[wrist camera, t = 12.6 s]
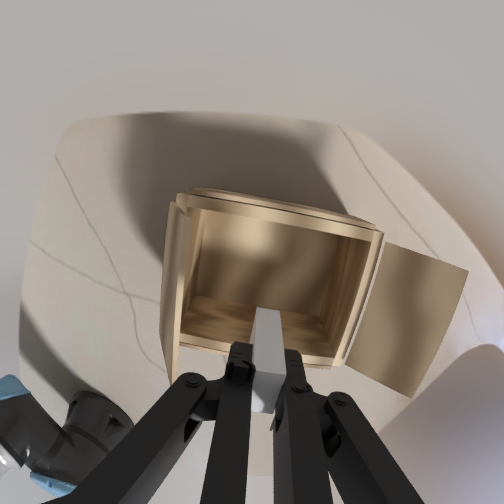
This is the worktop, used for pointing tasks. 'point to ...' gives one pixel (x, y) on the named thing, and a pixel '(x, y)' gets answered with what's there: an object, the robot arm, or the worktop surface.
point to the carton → (274, 273)
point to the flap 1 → (173, 286)
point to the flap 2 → (405, 318)
